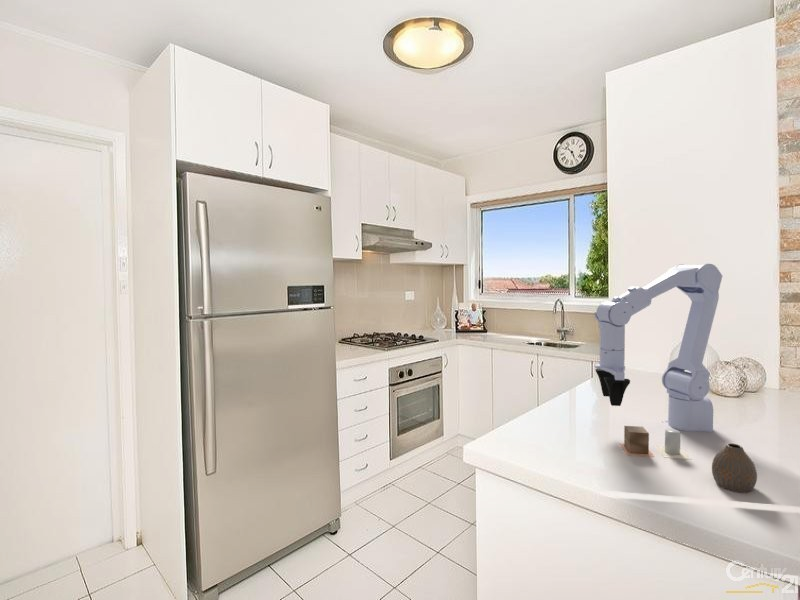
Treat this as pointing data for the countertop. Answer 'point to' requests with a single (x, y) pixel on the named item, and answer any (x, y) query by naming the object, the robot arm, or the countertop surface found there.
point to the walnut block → (636, 439)
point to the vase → (734, 469)
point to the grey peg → (672, 441)
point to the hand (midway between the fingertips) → (611, 400)
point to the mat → (662, 452)
